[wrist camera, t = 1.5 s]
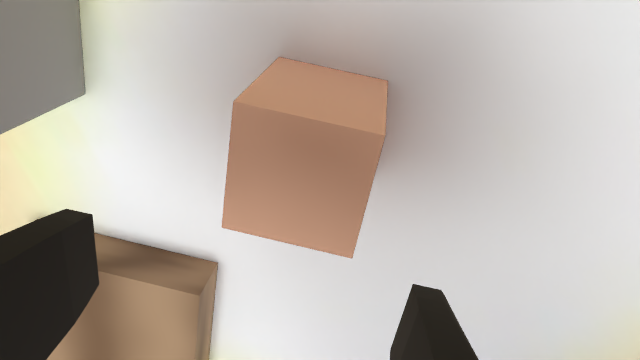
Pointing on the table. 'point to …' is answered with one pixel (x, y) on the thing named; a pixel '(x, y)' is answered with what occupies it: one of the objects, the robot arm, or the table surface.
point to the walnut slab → (144, 306)
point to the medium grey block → (38, 58)
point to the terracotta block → (304, 155)
